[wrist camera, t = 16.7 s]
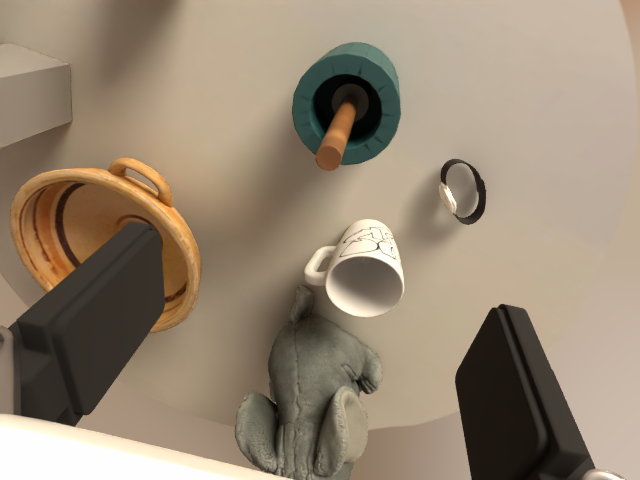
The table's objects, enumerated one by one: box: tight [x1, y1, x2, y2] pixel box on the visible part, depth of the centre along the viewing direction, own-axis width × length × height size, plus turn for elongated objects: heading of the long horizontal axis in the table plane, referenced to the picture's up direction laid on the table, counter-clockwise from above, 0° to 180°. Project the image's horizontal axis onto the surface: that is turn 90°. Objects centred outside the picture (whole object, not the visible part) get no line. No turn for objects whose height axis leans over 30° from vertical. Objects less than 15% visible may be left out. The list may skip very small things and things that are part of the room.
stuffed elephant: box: [235, 286, 382, 480], centre depth 50 cm, size 19×21×27 cm
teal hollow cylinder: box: [292, 42, 401, 165], centre depth 37 cm, size 9×9×10 cm
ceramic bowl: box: [10, 157, 201, 333], centre depth 52 cm, size 30×24×8 cm
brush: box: [316, 75, 372, 170], centre depth 32 cm, size 4×4×20 cm
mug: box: [304, 219, 404, 317], centre depth 46 cm, size 11×8×10 cm
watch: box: [439, 159, 486, 225], centre depth 43 cm, size 8×5×4 cm, turn 25°
